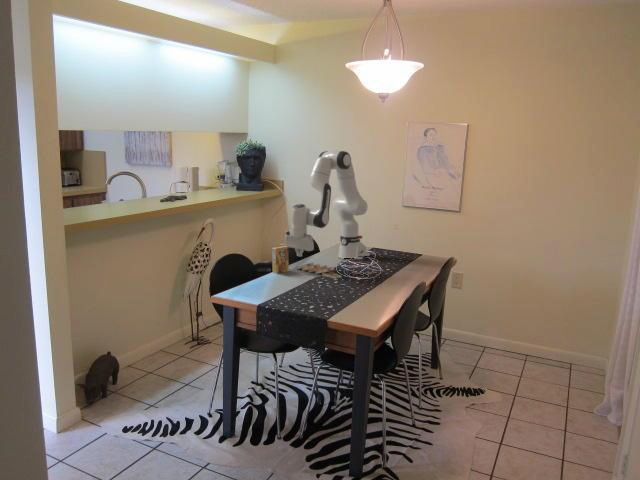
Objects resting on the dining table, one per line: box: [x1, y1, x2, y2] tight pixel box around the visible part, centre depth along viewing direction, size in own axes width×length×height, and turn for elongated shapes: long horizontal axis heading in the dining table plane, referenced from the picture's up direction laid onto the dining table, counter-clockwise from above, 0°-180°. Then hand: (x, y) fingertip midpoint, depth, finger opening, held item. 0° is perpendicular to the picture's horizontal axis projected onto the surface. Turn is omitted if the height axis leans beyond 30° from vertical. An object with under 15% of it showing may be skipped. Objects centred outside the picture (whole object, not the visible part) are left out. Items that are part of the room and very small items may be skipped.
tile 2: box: [302, 263, 321, 271], centre depth 293 cm, size 5×2×10 cm
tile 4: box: [315, 266, 335, 274], centre depth 286 cm, size 5×2×10 cm
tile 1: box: [295, 262, 315, 269], centre depth 297 cm, size 5×2×10 cm
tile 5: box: [321, 271, 342, 280], centre depth 284 cm, size 5×2×10 cm
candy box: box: [271, 245, 290, 274], centre depth 292 cm, size 9×4×15 cm, turn 130°
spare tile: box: [308, 265, 328, 272], centre depth 290 cm, size 5×2×10 cm
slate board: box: [289, 267, 323, 278], centre depth 294 cm, size 12×24×1 cm, turn 48°
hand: (299, 256), depth 298 cm, fingers closed
